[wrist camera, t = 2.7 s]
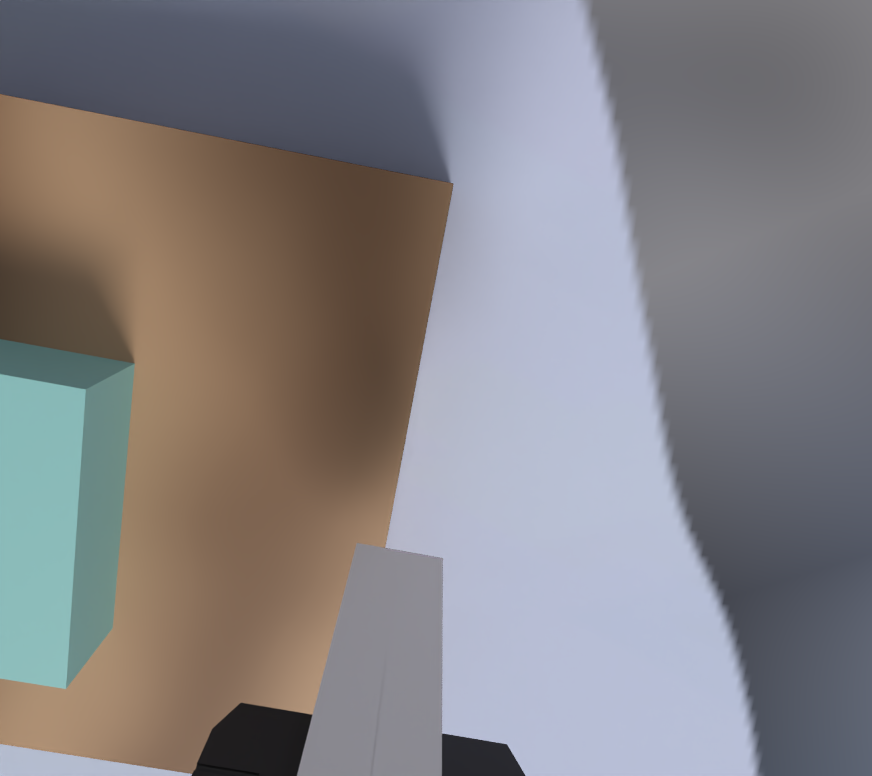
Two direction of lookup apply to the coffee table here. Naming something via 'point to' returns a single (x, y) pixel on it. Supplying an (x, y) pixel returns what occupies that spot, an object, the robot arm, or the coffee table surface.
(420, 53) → the coffee table surface
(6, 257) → the wooden board
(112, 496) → the teal rectangular block
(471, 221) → the coffee table surface
